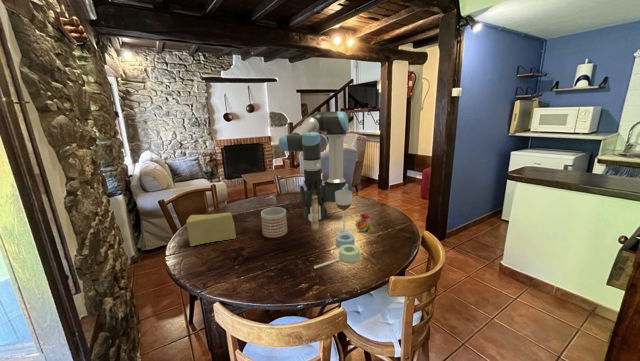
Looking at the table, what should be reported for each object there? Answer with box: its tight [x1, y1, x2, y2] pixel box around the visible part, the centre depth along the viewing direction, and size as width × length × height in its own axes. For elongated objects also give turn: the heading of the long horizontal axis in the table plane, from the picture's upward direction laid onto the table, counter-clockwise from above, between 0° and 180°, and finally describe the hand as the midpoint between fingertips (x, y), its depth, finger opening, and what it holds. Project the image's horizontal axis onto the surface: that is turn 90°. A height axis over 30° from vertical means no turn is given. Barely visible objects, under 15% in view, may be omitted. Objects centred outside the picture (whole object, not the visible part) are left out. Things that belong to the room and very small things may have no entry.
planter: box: [260, 206, 288, 239], centre depth 148 cm, size 14×14×13 cm
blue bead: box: [335, 233, 356, 249], centre depth 133 cm, size 9×9×4 cm
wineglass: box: [335, 189, 353, 235], centre depth 144 cm, size 9×10×23 cm
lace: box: [313, 258, 341, 270], centre depth 116 cm, size 1×13×1 cm, turn 117°
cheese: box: [185, 212, 237, 247], centre depth 139 cm, size 22×10×15 cm, turn 102°
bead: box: [338, 245, 360, 264], centre depth 121 cm, size 9×9×4 cm
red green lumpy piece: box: [355, 213, 373, 233], centre depth 146 cm, size 6×11×9 cm
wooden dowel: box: [310, 194, 320, 231], centre depth 120 cm, size 4×4×16 cm
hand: (314, 219), depth 121 cm, fingers closed on wooden dowel, 3 cm apart
